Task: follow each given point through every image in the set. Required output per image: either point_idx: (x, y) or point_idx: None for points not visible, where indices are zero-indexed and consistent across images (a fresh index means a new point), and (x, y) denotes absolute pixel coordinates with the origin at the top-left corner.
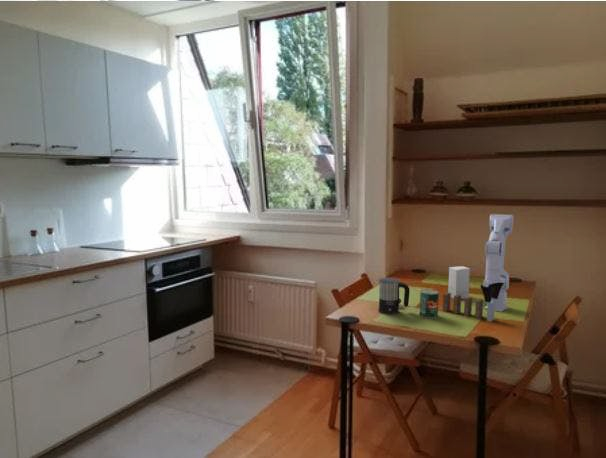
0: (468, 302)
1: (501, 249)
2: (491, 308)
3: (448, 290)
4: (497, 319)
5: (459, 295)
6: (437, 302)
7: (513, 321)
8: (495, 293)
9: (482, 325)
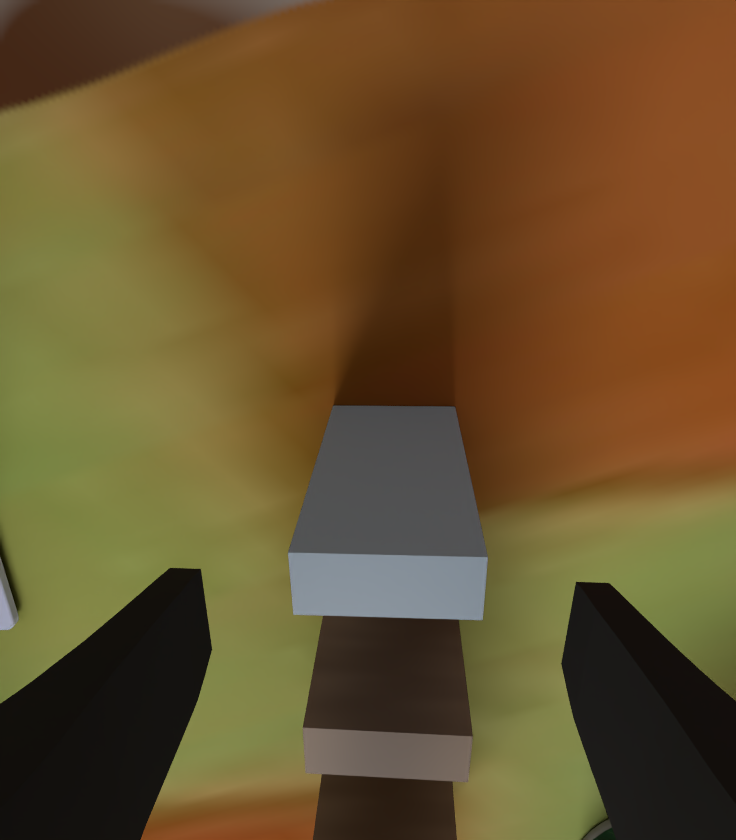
0: (441, 801)
1: None
2: (460, 497)
3: None
4: (291, 375)
5: None
6: None
7: (208, 178)
8: (150, 700)
9: (674, 425)
